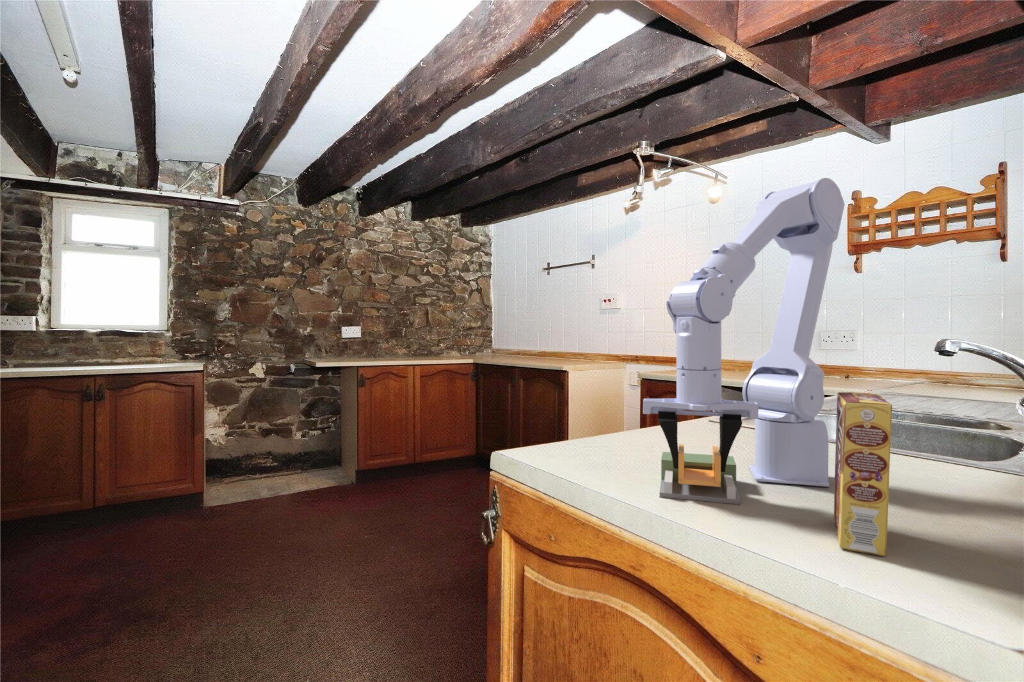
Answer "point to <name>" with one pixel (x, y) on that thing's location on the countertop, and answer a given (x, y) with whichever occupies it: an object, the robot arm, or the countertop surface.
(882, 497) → the candy box
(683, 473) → the chute
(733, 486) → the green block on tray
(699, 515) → the countertop surface
